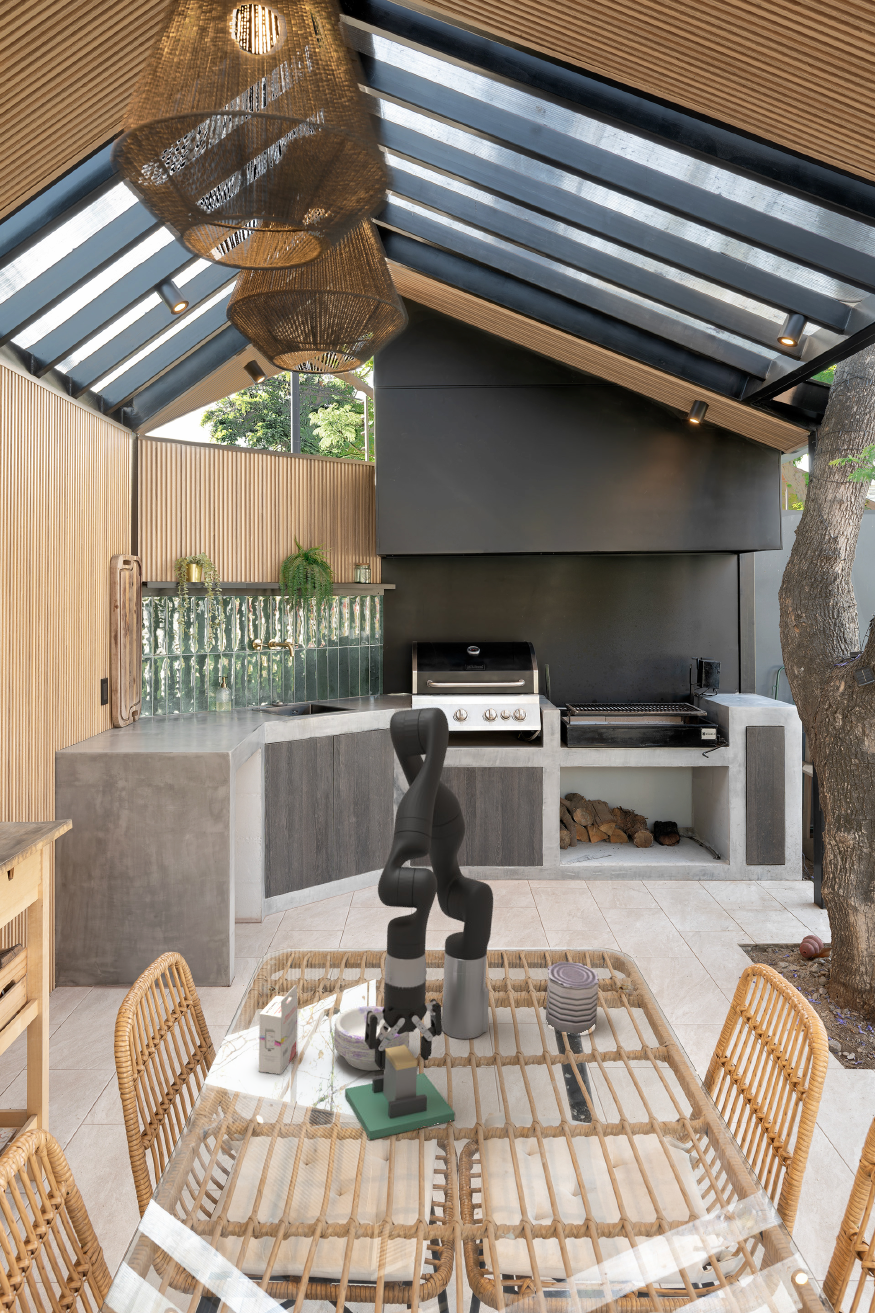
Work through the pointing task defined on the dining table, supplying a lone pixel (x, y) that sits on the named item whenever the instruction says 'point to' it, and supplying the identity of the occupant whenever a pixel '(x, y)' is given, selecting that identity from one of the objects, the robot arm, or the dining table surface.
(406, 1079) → the block
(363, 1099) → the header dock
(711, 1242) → the dining table surface
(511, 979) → the dining table surface
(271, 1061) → the ink cartridge box
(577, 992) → the can
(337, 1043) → the paper bowls
